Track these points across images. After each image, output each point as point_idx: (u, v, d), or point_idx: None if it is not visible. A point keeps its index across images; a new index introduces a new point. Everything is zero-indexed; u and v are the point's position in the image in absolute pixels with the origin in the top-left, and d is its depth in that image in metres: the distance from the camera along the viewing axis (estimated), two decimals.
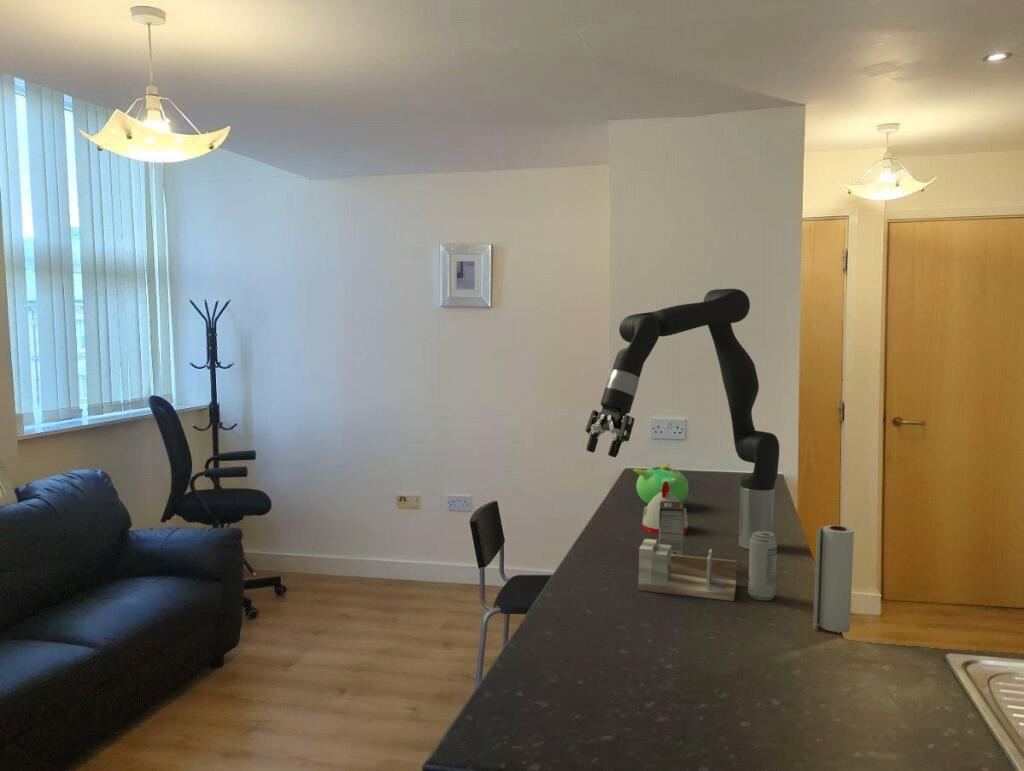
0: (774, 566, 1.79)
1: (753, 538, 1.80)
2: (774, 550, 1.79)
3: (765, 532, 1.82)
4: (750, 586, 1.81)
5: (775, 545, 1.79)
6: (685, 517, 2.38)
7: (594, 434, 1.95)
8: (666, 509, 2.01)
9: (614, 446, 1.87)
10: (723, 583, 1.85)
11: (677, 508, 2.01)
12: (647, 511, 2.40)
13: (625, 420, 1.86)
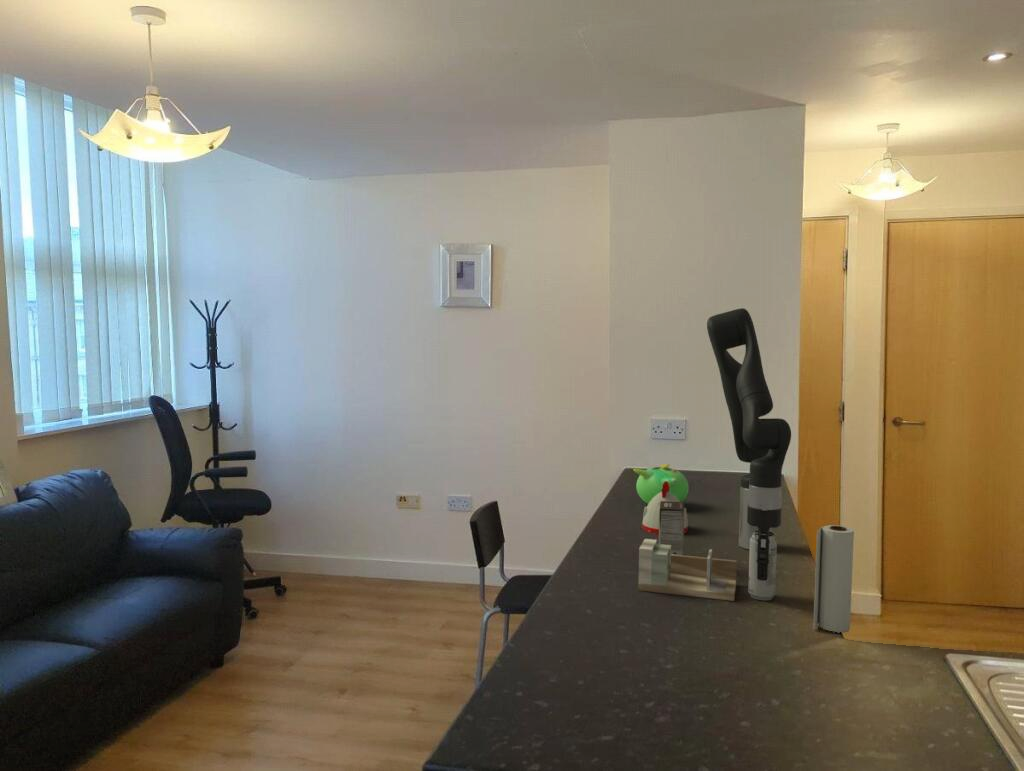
0: (774, 566, 1.79)
1: (753, 538, 1.80)
2: (774, 550, 1.79)
3: None
4: (750, 586, 1.81)
5: (775, 545, 1.79)
6: (685, 517, 2.38)
7: None
8: (666, 509, 2.01)
9: None
10: (723, 583, 1.85)
11: (677, 508, 2.01)
12: (647, 511, 2.40)
13: None
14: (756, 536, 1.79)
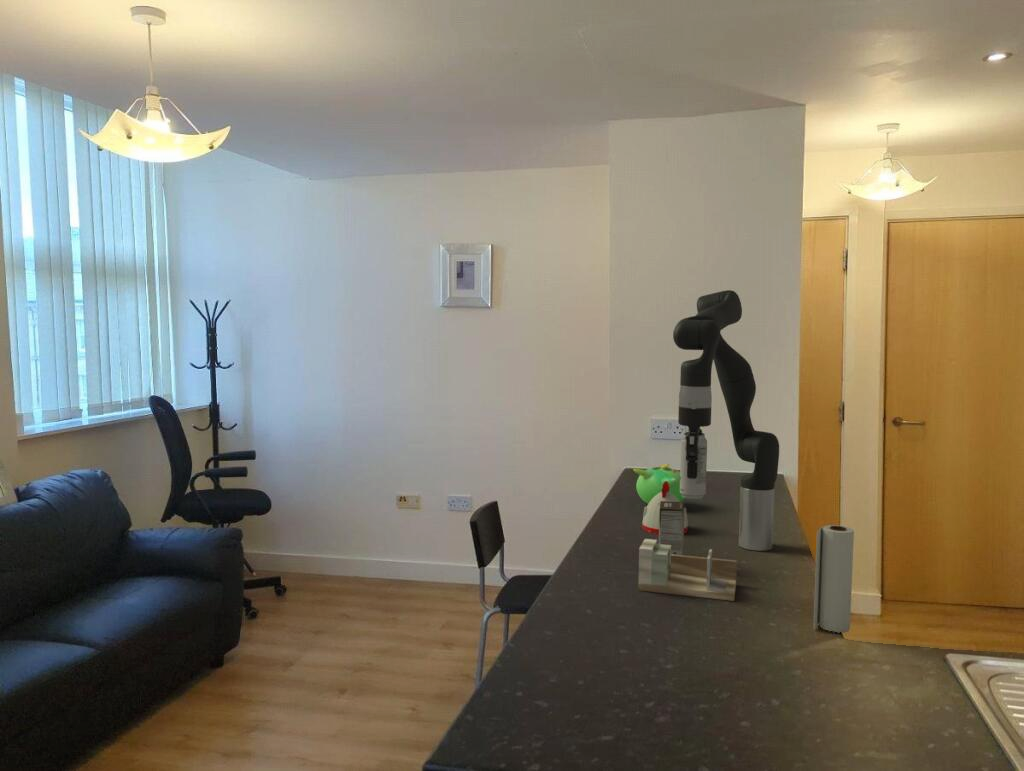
0: (704, 465, 1.82)
1: (684, 438, 1.83)
2: (704, 449, 1.82)
3: None
4: (681, 486, 1.84)
5: (705, 444, 1.82)
6: (685, 517, 2.38)
7: None
8: (666, 509, 2.01)
9: None
10: (723, 583, 1.85)
11: (677, 508, 2.01)
12: (647, 511, 2.40)
13: None
14: (686, 436, 1.83)
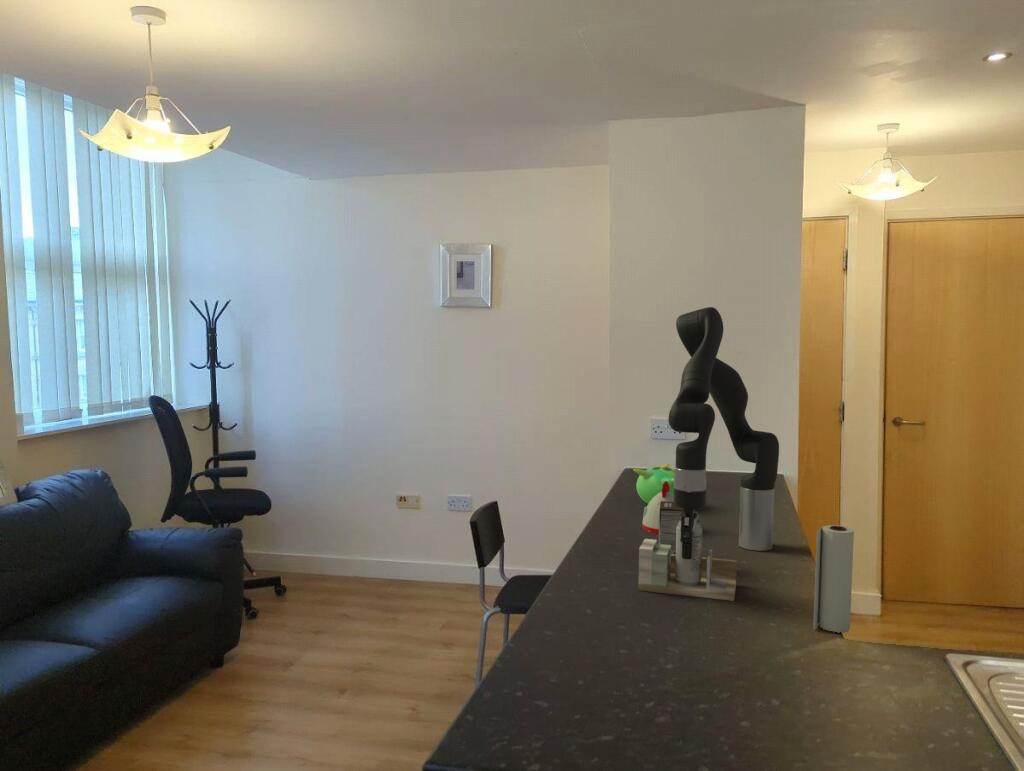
0: (699, 552, 1.84)
1: (679, 525, 1.85)
2: (699, 537, 1.84)
3: None
4: (676, 572, 1.86)
5: (700, 532, 1.84)
6: None
7: None
8: (666, 509, 2.01)
9: None
10: (723, 583, 1.85)
11: (677, 508, 2.01)
12: (647, 511, 2.40)
13: (696, 510, 1.92)
14: (682, 517, 1.85)
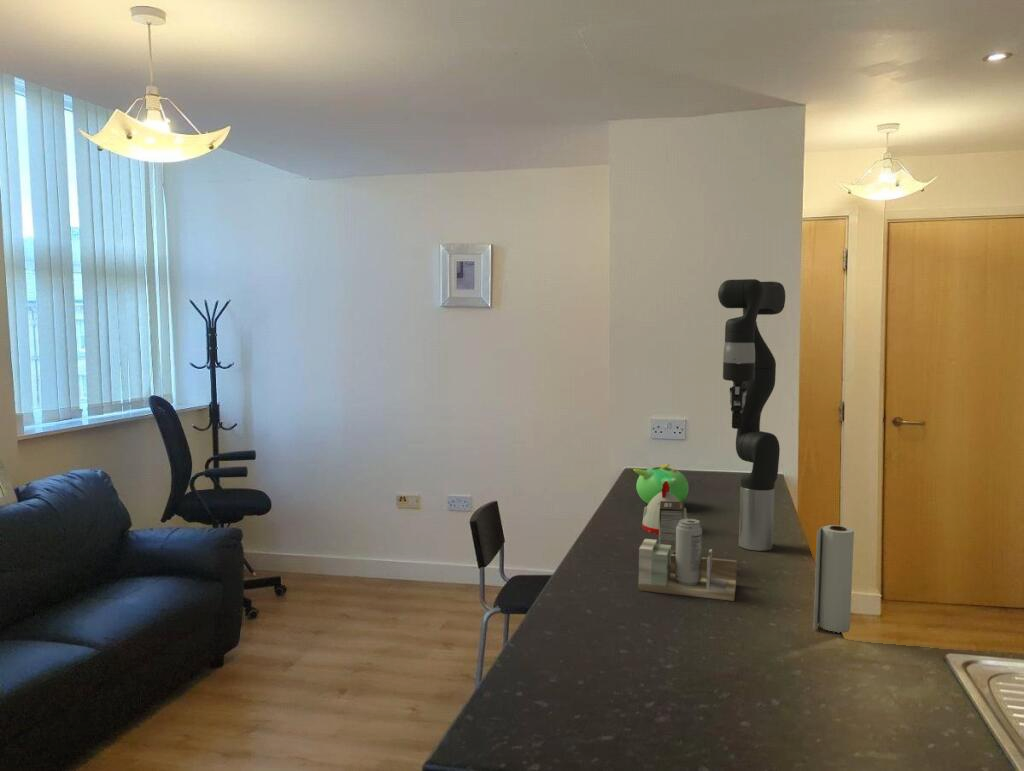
0: (699, 552, 1.84)
1: (679, 525, 1.85)
2: (698, 537, 1.84)
3: (691, 519, 1.87)
4: (676, 572, 1.86)
5: (700, 532, 1.84)
6: (685, 517, 2.38)
7: None
8: (666, 509, 2.01)
9: None
10: (723, 583, 1.85)
11: (677, 508, 2.01)
12: (647, 511, 2.40)
13: None
14: (731, 389, 1.92)
